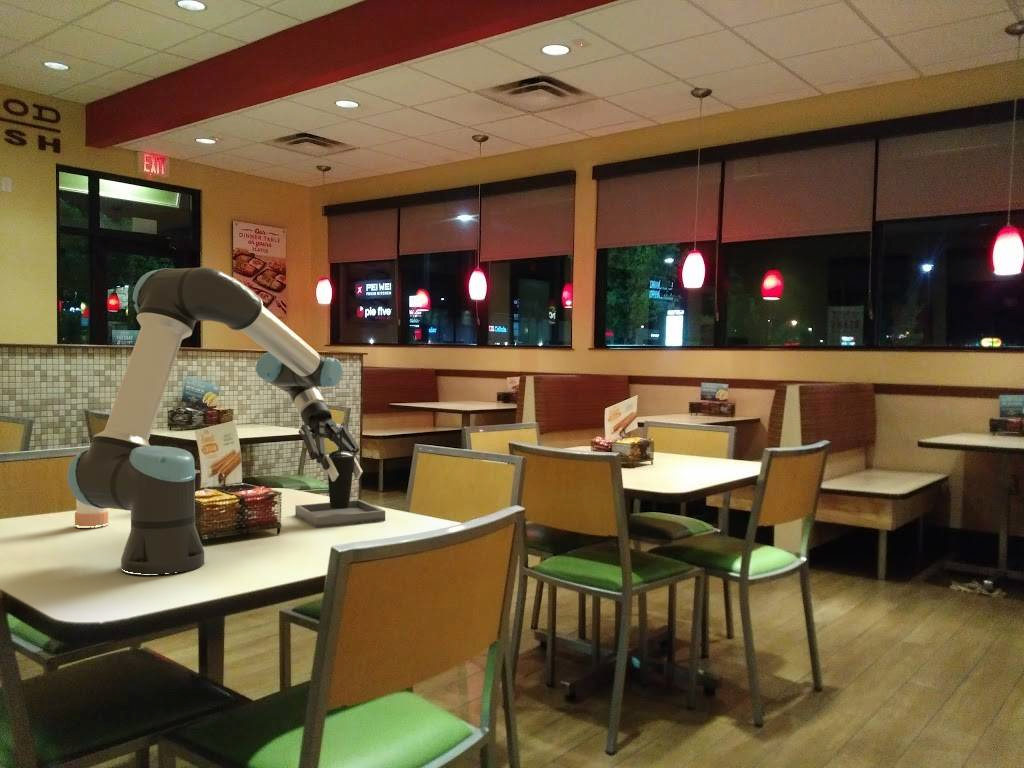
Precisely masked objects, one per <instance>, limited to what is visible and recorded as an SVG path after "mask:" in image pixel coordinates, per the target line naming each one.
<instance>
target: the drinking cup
mask: <svg viewBox="0 0 1024 768" xmlns="http://www.w3.org/2000/svg"><path fill="white" fill-rule="evenodd" d="M338 449H339V450H333V451H331V452H329V453H325V456H326V455H329V458H331V460H332V462H333V464H334V466H335V468H336V470H337V472H338V474H339V475H338V477H337V478H336V480H335V481H332V480H331V478H330V476H329V474H328V473H327V482H328V483H327V484H328V496H329V502H330V508H334V509H344V508H348V507H349V502H350V501H351V491H352V483H353V476H354V473H353V466H354V457H356V456H357V455H355V454H352V453H351V452H348V451H345V450H342V430H340V441H339V447H338Z"/></svg>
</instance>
